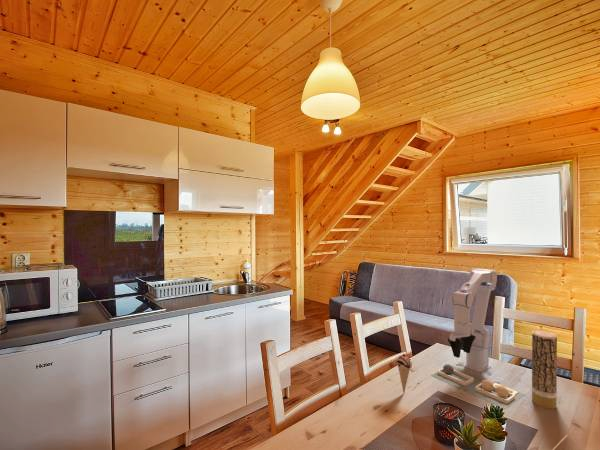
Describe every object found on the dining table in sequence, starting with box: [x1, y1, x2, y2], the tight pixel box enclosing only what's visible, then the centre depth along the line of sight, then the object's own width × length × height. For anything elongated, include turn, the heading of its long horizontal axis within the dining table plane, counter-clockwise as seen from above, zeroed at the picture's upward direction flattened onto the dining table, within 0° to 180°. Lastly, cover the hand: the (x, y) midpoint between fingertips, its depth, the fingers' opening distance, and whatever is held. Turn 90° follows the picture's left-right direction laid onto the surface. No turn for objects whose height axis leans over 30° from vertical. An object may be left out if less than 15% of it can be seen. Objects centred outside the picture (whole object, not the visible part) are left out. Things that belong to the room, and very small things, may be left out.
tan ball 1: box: [482, 379, 494, 392], centre depth 118 cm, size 4×4×4 cm
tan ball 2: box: [496, 384, 509, 398], centre depth 113 cm, size 4×4×4 cm
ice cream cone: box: [395, 353, 413, 393], centre depth 117 cm, size 6×6×15 cm
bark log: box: [531, 329, 558, 410], centre depth 109 cm, size 7×7×25 cm
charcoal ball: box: [442, 364, 454, 375], centre depth 130 cm, size 4×4×4 cm
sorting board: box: [430, 365, 526, 410], centre depth 122 cm, size 16×28×2 cm, turn 34°
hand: (461, 354), depth 128 cm, fingers open, 7 cm apart
